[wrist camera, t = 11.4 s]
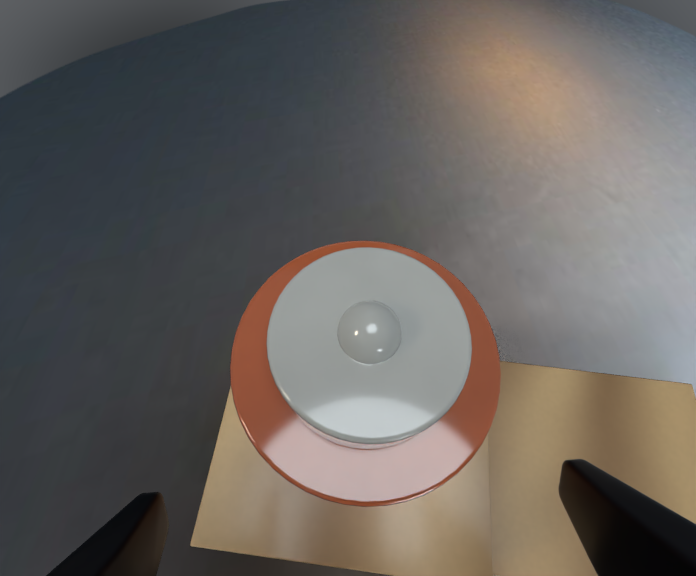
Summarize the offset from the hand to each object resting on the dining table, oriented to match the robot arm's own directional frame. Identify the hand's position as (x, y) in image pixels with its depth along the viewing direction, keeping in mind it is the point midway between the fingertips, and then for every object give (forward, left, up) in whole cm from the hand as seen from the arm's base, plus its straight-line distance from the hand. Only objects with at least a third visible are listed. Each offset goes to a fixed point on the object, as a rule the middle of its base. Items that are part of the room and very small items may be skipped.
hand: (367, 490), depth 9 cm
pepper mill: (+1, +2, -8) cm, 8 cm away
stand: (+5, -3, -12) cm, 14 cm away
